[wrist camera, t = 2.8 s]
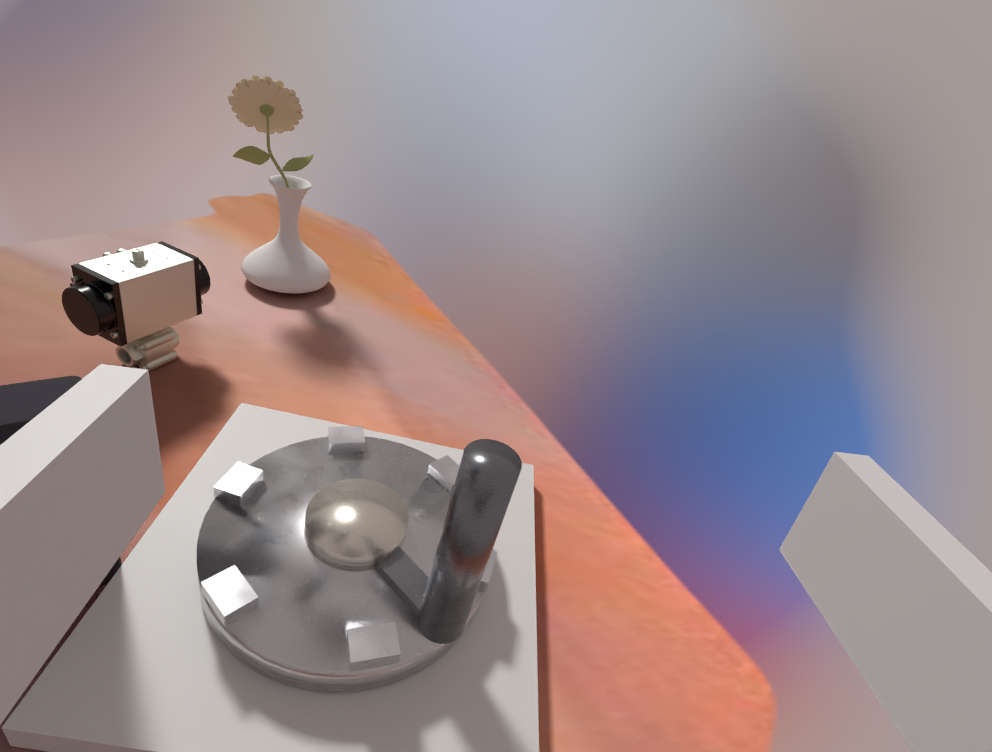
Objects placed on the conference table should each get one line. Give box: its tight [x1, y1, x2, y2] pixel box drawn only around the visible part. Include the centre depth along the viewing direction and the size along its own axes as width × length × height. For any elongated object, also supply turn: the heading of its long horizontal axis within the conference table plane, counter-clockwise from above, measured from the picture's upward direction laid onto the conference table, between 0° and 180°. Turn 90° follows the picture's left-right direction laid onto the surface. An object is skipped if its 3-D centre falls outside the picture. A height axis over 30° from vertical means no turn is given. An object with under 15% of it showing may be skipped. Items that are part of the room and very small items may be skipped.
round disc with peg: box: [197, 426, 522, 693], centre depth 36 cm, size 20×20×16 cm
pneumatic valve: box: [62, 242, 210, 371], centre depth 53 cm, size 6×12×12 cm, turn 157°
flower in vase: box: [228, 75, 331, 293], centre depth 69 cm, size 13×11×25 cm
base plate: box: [2, 403, 539, 752], centre depth 41 cm, size 28×28×2 cm
